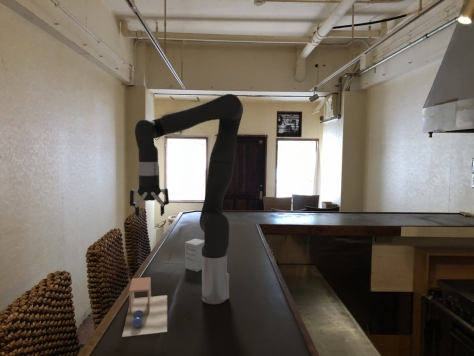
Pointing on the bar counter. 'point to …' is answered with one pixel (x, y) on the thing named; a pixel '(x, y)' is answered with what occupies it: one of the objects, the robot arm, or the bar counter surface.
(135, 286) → the terracotta cover
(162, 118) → the robot arm
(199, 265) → the supplement box
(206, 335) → the bar counter surface
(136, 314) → the navy marble back
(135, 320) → the navy marble front
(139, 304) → the birch mat
